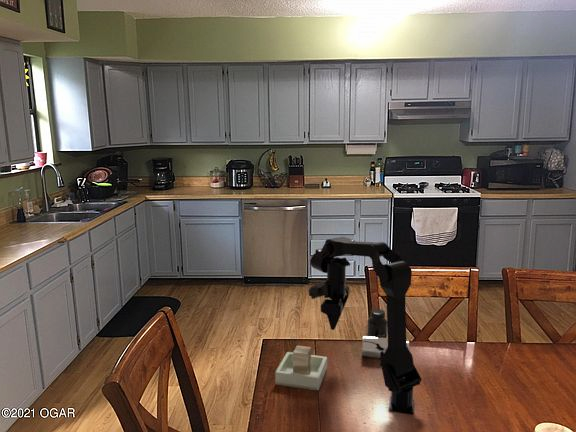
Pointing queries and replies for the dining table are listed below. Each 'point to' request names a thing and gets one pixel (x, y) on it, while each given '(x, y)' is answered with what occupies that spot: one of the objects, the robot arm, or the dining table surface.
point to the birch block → (302, 360)
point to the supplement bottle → (377, 324)
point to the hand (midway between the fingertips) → (335, 323)
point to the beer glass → (375, 345)
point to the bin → (297, 380)
